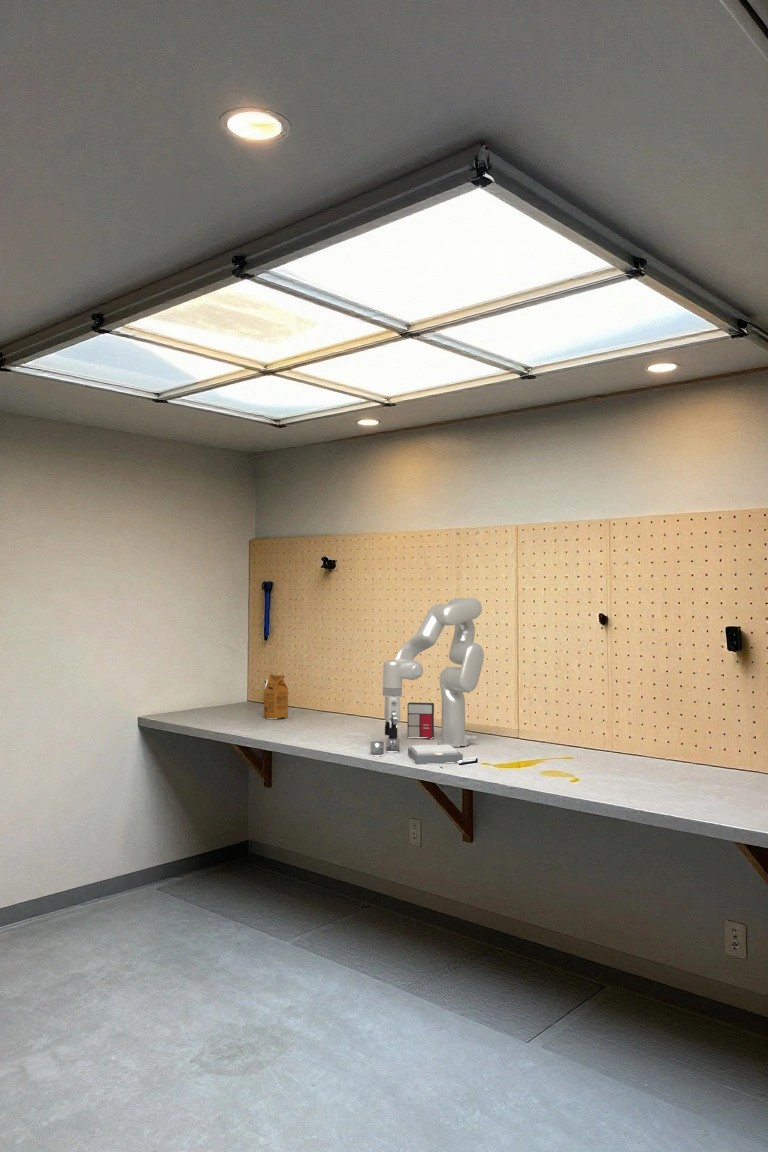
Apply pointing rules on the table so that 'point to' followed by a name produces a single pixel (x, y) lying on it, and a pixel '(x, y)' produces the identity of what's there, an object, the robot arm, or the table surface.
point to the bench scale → (434, 754)
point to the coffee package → (276, 697)
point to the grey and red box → (420, 719)
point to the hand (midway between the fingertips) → (390, 736)
